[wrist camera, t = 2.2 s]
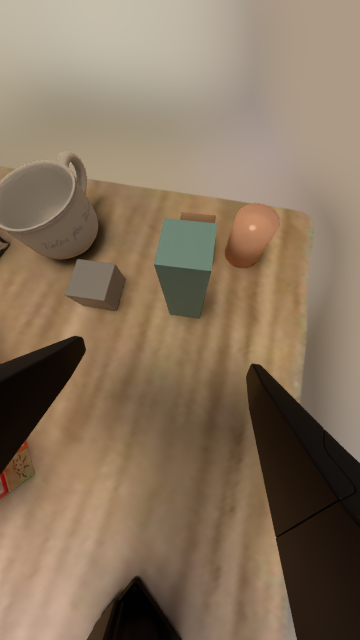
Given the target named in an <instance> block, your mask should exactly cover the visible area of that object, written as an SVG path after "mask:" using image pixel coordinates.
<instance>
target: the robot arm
mask: <svg viewBox="0 0 360 640" xmlns="http://www.w3.org/2000/svg"><path fill="white" fill-rule="evenodd" d="M85 351H86V348H85V344H84V340H83V338H82V337H79V336H73V337H70V338H68V339H65V340H62V341H60V342H57V343H55V344H52V345H49V346H47V347H44V348H41V349H39V350H36V351H34V352H31V353H28V354H26V355H23V356H21V357H18V358H15V359H13V360H10V361H8V362H5V363H2V364H0V474H2V472H3V471H4V470H5V468H6V467H7V465H8V464H9V463H10V461H11V460H12V459H13V457H14V456H15V454H16V453H17V452H18V450H19V449H20V447H21V446H22V445H23V443H24V442H25V440H26V439H27V438H28V436H29V435H30V433H31V432H32V431H33V429H34V428H35V426H36V425H37V424H38V422H39V421H40V420H41V418H42V417H43V415H44V414H45V413H46V411H47V410H48V408H49V407H50V406H51V404H52V403H53V401H54V400H55V399H56V397H57V396H58V394H59V393H60V392H61V390H62V389H63V388H64V386H65V385H66V383H67V382H68V381H69V379H70V378H71V376H72V374H73V373H74V371H75V369H76V368H77V366H78V364H79V362H80V361H81V359H82V357H83V355H84V354H85ZM246 382H247V392H248V403H249V411H250V416H251V421H252V425H253V430H254V435H255V440H256V445H257V449H258V454H259V459H260V464H261V469H262V473H263V478H264V483H265V488H266V493H267V497H268V502H269V507H270V512H271V517H272V521H273V526H274V531H275V536H276V541H277V546H278V551H279V556H280V560H281V565H282V570H283V575H284V580H285V584H286V589H287V594H288V599H289V604H290V608H291V613H292V618H293V623H294V627H295V633H296V637H297V640H360V463H359V462H358V461H357V460H356V459H355V458H354V457H353V456H352V455H351V454H349V453H348V452H347V451H346V450H345V449H344V448H343V447H342V446H341V445H340V444H339V443H338V442H337V441H336V440H335V439H334V438H333V437H332V436H331V435H330V434H329V433H328V432H327V431H326V430H324V429H323V427H322V426H321V425H320V424H319V423H318V422H317V421H316V420H315V419H314V418H313V417H312V416H311V415H310V414H309V413H308V412H307V411H306V410H305V409H304V408H303V407H302V406H301V405H300V404H299V403H298V402H297V401H296V400H295V399H294V398H293V397H292V396H291V395H290V394H289V393H288V392H287V391H286V390H285V389H284V388H283V387H282V386H281V385H280V384H279V383H278V382H277V381H276V380H275V379H274V378H273V377H272V376H271V375H270V374H269V373H268V372H267V371H266V370H265V369H264V368H263V367H262V366H261V365H259V364H251V366H250V368H249V370H248V373H247V376H246ZM134 586H136V587H137V589H136V588H134ZM87 640H181V639H180V637H179V636H178V634H177V633H176V631H175V630H174V628H173V627H172V625H171V624H170V623H169V621H168V620H167V618H166V617H165V615H164V614H163V612H162V611H161V609H160V608H159V607H158V605H157V604H156V602H155V601H154V599H153V598H152V596H151V595H150V594H149V592H148V591H147V589H146V588H145V586H144V585H143V583H142V582H141V580H140V579H139V578H134V579H133V580H132V582H131V583H130V584H129V585H128V587H127V588H126V589H125V591H124V592H123V593H122V594H121V596H120V597H119V598H116V599H114V601H113V602H112V603H111V604H110V606H109V607H108V608H107V610H106V611H105V612H104V613H103V615H102V616H101V617H100V619H99V620H98V621H97V622H96V624H95V626H94V628H93V631H92V633H91V634H90V636H89V637H88V639H87Z"/></svg>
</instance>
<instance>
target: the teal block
mask: <svg viewBox="0 0 360 640" xmlns="http://www.w3.org/2000/svg"><path fill="white" fill-rule="evenodd" d="M216 229H217V223H208V222H197V221H187V220H176V219H166V218H164V222H163V226H162V231H161V235H160V240H159V244H158V249H157V253H156V258H155V263H154V266H155V269H156V272H157V275H158V278H159V281H160V284H161V288H162V291H163V294H164V297H165V300H166V303H167V306H168V309H169V313H170V314H171V315H178V316H185V317H192V318H199V317H200V313H201V309H202V305H203V301H204V297H205V294H206V290H207V286H208V282H209V278H210V274H211V269H212V261H213V253H214V245H215V237H216Z"/></svg>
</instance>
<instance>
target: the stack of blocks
mask: <svg viewBox="0 0 360 640" xmlns="http://www.w3.org/2000/svg"><path fill="white" fill-rule="evenodd" d="M34 474H35V472H34V469H33V465H32V462H31V459H30V455H29V452H28V449H27V443H26V440H25V442H24V443H23V445H22V446H21V447H20V449H19V450H18V452H17V453H16V454H15V456H14V457H13V459H12V460H11V461H10V463H9V464H8V465H7V467H6V468H5V470H4V471H3V472H2V474H0V499H1V498H3V497H4V496H5V495H7V493H9V492H10V491H12V490H13V489H15V488H16V487H18V486H19V485H21V484H22V483H23V482H25V481H26V480H28V479H29V478H30V477H32V476H33V475H34Z"/></svg>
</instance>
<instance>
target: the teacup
mask: <svg viewBox="0 0 360 640" xmlns="http://www.w3.org/2000/svg"><path fill="white" fill-rule="evenodd" d="M70 162H72V164H73V165H74V167H75V170H76V175H77V181H76V179H75V176H74V174H73V172H72V171H71V170H70V169H69V163H70ZM86 186H87V176H86V171H85V168H84V165H83V163H82V162H81V160H80V159H79V158H78V157H77V156H76V155H75V154H74V153H72V152H69V151H63V152H61V153H60V154H59V155H58V158H57V162H56V161H49V160H43V161H35V162H30V163H28V164H25V165H23V166H21V167H19V168H17V169H15V170H14V171H12V172H10V173H9V174H8V175H6V176H5V177H4V178H3V179H2V180H1V181H0V228H1V229H3V230H5V231H7V232H9V233H10V234H11V235H13V236H14V237H15V238H17V239H18V240H20V241H21V242H22V243H24V244H25V245H27V246H28V247H30V248H31V249H33V250H34V251H36V252H38V253H39V254H41V255H43V256H46V257H49V258H52V259H68V258H72V257H75V256H78V255H80V254H82V253H84V252H85V251H86V250H88V249H89V248H90V246H91V245H92V243H93V241H94V240H95V238H96V235H97V232H98V219H97V215H96V213H95V211H94V209H93V207H92V205H91V203H90V201H89V200H88V198H87V197H86Z"/></svg>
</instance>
